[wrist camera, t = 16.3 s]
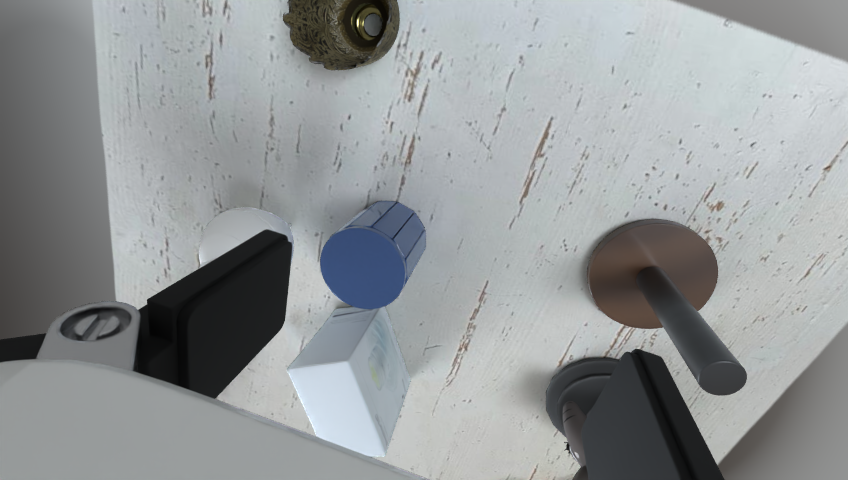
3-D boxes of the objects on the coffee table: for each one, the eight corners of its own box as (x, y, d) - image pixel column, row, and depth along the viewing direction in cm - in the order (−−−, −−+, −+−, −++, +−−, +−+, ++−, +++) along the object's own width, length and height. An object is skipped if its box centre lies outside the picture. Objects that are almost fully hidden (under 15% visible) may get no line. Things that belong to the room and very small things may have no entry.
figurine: (608, 464, 43) (638, 588, 32) (521, 399, 43) (523, 504, 32) (695, 407, 39) (764, 530, 28) (600, 334, 38) (633, 431, 27)
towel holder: (567, 250, 36) (596, 340, 23) (685, 198, 32) (796, 270, 19) (614, 336, 38) (665, 463, 25) (729, 296, 34) (857, 420, 21)
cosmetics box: (414, 380, 45) (387, 459, 35) (363, 385, 47) (324, 462, 37) (386, 299, 42) (347, 362, 32) (333, 308, 44) (281, 370, 34)
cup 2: (342, 222, 40) (303, 252, 32) (400, 187, 37) (372, 212, 30) (381, 280, 41) (352, 322, 34) (439, 251, 39) (421, 289, 31)
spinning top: (243, 215, 42) (147, 260, 31) (289, 173, 39) (201, 207, 28) (290, 270, 43) (214, 333, 32) (339, 234, 40) (273, 289, 29)
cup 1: (410, 80, 34) (382, 78, 26) (329, 67, 35) (279, 61, 27) (423, -22, 31) (394, -57, 23) (334, -33, 32) (280, -70, 24)
